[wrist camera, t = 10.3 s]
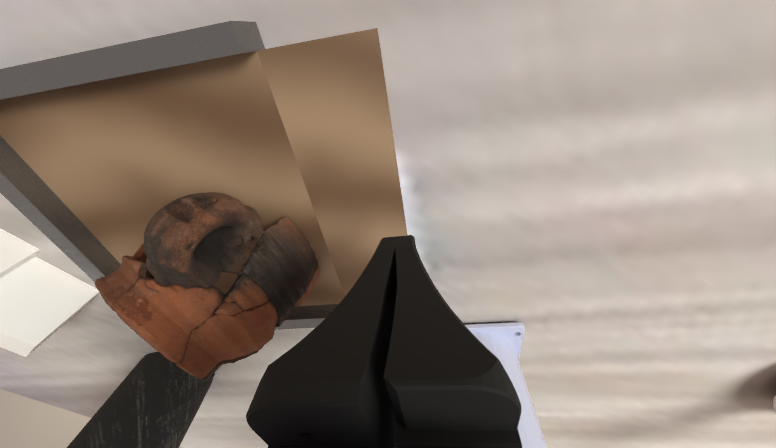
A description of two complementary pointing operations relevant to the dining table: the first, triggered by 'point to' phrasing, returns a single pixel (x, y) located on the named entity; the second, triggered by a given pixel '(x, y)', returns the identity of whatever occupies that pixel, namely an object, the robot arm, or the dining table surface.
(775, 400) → the flower in vase
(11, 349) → the white stepped block
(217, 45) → the curbs
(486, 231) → the dining table surface
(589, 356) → the dining table surface
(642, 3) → the dining table surface
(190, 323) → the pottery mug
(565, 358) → the dining table surface
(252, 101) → the brown flat board
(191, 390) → the travel mug
